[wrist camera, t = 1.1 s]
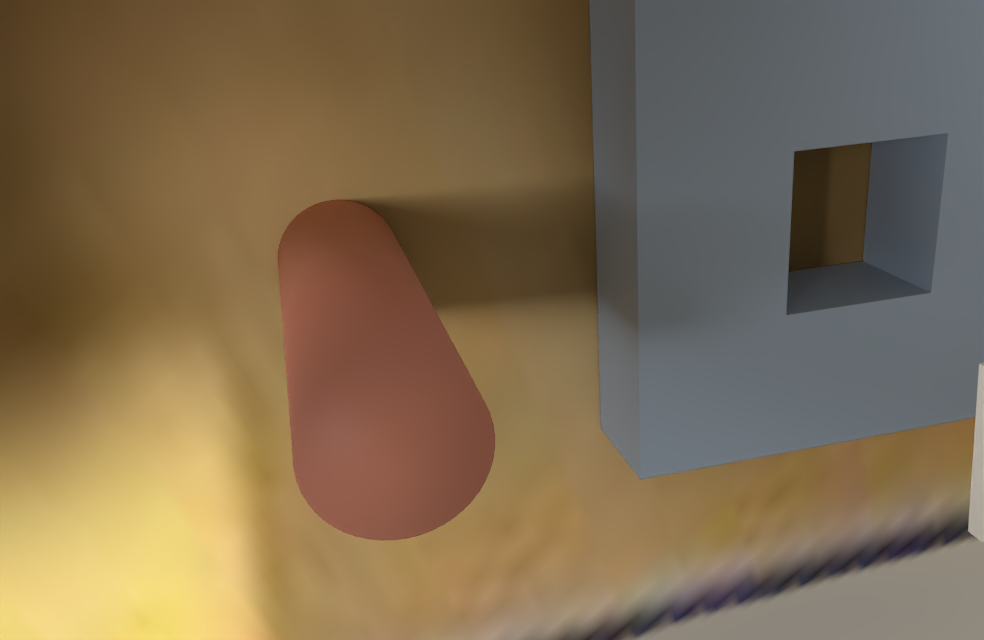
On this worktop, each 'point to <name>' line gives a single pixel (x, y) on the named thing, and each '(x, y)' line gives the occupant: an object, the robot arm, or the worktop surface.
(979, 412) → the robot arm
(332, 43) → the worktop surface
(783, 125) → the socket slab
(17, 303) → the worktop surface
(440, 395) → the peg
